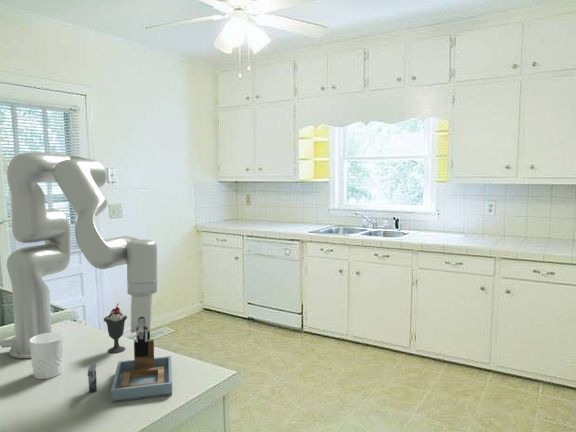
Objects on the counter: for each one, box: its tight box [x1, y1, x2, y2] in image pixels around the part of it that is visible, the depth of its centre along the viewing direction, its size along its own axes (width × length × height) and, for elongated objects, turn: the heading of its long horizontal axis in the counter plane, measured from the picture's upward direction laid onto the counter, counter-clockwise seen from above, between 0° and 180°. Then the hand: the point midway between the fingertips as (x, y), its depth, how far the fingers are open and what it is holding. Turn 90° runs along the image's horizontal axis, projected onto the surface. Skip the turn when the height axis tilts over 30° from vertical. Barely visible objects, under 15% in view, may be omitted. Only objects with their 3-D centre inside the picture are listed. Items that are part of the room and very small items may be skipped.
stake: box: [87, 361, 98, 394], centre depth 107 cm, size 2×5×6 cm, turn 16°
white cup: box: [29, 331, 64, 380], centre depth 116 cm, size 8×8×10 cm
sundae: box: [103, 303, 128, 354], centre depth 131 cm, size 7×7×15 cm
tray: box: [110, 355, 173, 403], centre depth 111 cm, size 14×16×3 cm
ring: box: [121, 338, 164, 388], centre depth 111 cm, size 12×10×8 cm
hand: (142, 348), depth 116 cm, fingers open, 9 cm apart
